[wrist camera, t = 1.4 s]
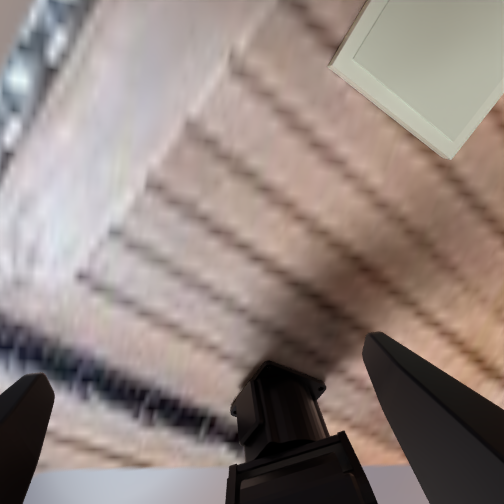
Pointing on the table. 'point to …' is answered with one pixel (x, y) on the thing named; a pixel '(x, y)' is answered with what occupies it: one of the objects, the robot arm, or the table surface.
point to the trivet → (428, 65)
